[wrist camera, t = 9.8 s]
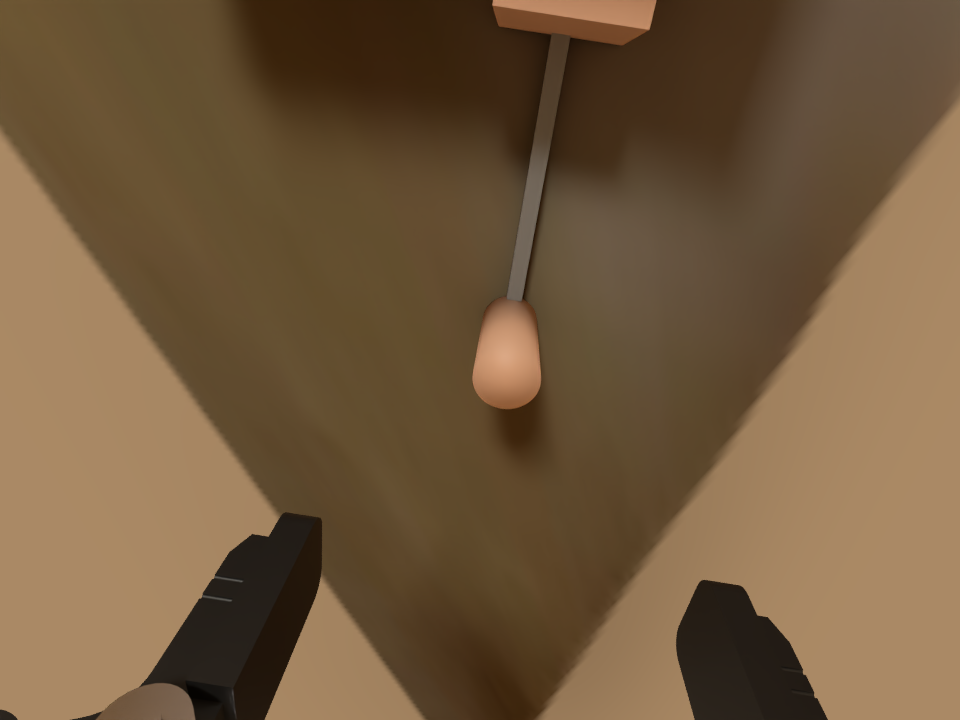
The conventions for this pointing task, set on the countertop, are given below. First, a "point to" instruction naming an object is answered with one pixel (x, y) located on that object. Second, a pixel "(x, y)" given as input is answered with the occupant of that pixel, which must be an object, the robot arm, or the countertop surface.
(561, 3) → the tethered block
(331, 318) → the countertop surface
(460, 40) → the countertop surface
